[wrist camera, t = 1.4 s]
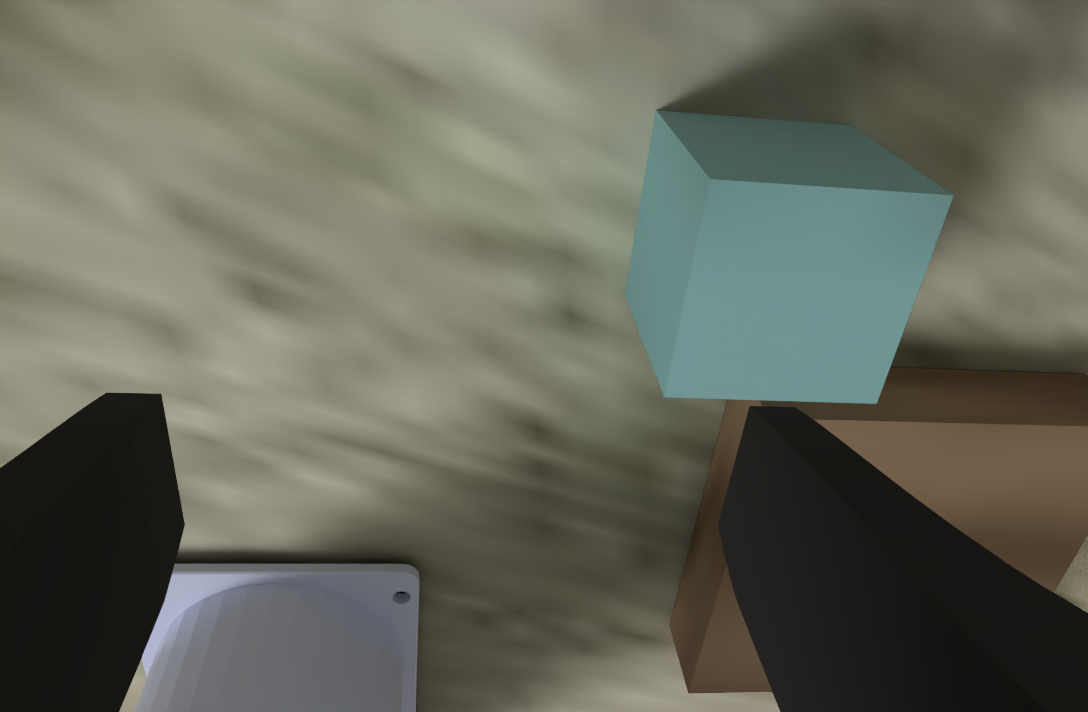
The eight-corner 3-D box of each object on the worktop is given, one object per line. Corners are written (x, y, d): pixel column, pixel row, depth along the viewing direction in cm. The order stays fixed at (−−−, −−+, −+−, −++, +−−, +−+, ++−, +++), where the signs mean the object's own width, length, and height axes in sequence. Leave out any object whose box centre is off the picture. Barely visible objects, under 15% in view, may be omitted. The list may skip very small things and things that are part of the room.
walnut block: (956, 623, 28) (998, 686, 26) (669, 626, 27) (688, 693, 24) (1085, 374, 23) (1150, 427, 21) (737, 362, 21) (768, 418, 19)
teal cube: (798, 302, 21) (876, 403, 17) (624, 293, 20) (664, 397, 16) (850, 124, 19) (953, 195, 15) (655, 108, 18) (710, 178, 14)
